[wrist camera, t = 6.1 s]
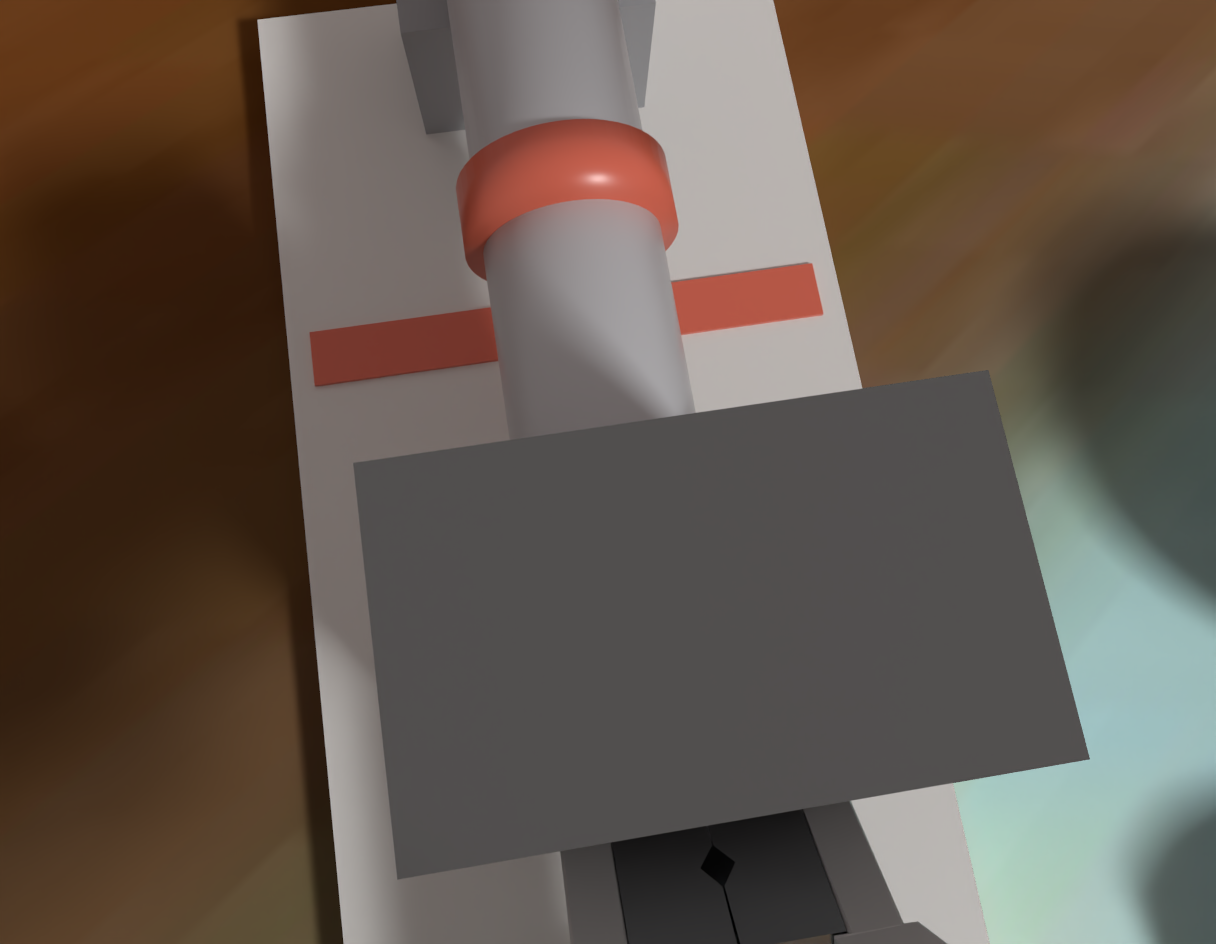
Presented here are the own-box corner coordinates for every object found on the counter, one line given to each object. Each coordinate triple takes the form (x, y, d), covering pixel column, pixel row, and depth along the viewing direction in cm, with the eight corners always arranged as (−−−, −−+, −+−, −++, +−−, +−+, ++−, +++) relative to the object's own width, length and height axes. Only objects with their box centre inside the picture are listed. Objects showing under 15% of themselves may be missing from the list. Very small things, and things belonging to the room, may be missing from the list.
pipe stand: (1033, 1213, 19) (1329, 1529, 12) (394, 1343, 18) (268, 1774, 11) (756, -11, 26) (833, -321, 18) (269, 47, 25) (134, -252, 17)
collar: (819, 731, 19) (1182, 742, 7) (466, 791, 18) (295, 896, 7) (786, 568, 19) (1072, 357, 8) (445, 622, 19) (259, 477, 8)
